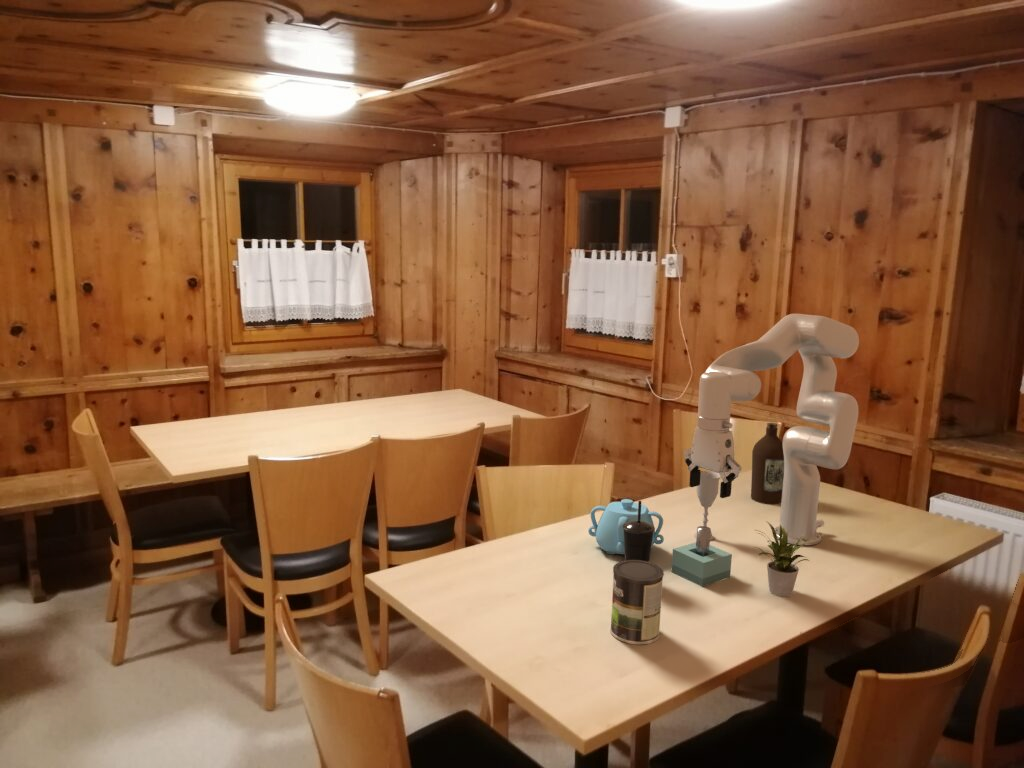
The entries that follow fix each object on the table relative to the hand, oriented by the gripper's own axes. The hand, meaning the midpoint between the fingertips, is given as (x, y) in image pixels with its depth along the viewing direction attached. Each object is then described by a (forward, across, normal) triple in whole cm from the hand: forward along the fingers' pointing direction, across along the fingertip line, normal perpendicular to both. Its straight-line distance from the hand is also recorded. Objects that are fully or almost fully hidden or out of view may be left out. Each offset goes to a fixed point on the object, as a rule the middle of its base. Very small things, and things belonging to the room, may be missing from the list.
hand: (709, 491), depth 192 cm
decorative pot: (+21, +21, +8) cm, 31 cm away
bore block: (+21, -1, +3) cm, 21 cm away
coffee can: (+20, -14, +37) cm, 44 cm away
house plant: (+21, -16, -6) cm, 27 cm away
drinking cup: (+21, +5, +19) cm, 28 cm away
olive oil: (+22, +28, -60) cm, 69 cm away
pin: (+19, -1, +3) cm, 19 cm away
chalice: (+21, +16, -17) cm, 32 cm away
